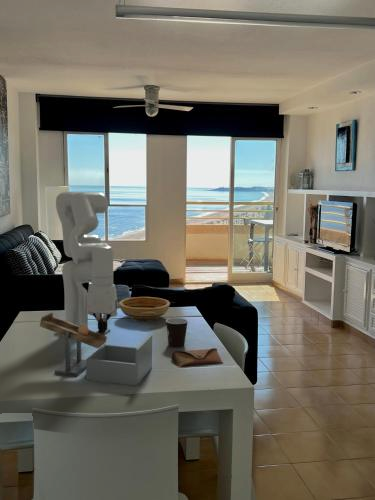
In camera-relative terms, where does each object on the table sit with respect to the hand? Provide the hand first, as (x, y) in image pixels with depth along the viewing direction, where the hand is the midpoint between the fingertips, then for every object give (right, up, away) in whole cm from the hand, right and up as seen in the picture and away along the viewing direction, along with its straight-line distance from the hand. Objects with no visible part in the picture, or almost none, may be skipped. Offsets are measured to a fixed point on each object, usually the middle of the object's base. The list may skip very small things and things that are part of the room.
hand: (102, 331), depth 173 cm
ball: (-5, +2, -8) cm, 10 cm away
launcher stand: (-9, -12, -6) cm, 16 cm away
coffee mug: (+26, -9, +23) cm, 36 cm away
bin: (+8, -13, -9) cm, 18 cm away
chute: (-8, +1, -2) cm, 8 cm away
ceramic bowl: (+10, -4, +59) cm, 60 cm away
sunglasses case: (+34, -12, +4) cm, 37 cm away
